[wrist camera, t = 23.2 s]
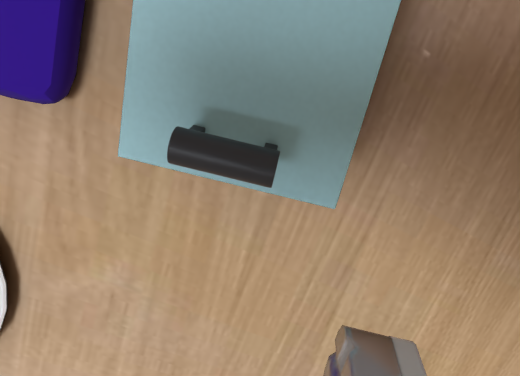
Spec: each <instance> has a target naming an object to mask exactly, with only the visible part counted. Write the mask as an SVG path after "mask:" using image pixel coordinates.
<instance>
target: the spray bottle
mask: <svg viewBox="0 0 520 376" xmlns="http://www.w3.org/2000/svg"><path fill="white" fill-rule="evenodd" d="M84 6H85V0H0V95H3V96H6V97H10V98H14V99H19V100H25V101H30V102H35V103H41V104H51V103H56V102H58V101H60V100H62V99H63V98H64V97H65V96H67V95H68V93H69V91H70V88H71V86H72V83H73V81H74V78H75V76H76V70H77V62H78V54H79V46H80V38H81V30H82V22H83V14H84Z"/></svg>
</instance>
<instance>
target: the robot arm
mask: <svg viewBox="0 0 520 376" xmlns="http://www.w3.org/2000/svg"><path fill="white" fill-rule="evenodd" d="M335 345H336V352H335V353H333V354H331V355H330V356H329V358H328V361H327V364H326V367H325V370H324V375H323V376H427V375H426V372H425V369H424V367H423V364H422V361H421V358H420V355H419V352H418V349H417V346H416V344H415V343H414V342H413V341H409V340H405V339H400V338H396V337H392V336H384V335H380V334H376V333H372V332H368V331H364V330H360V329H356V328H352V327H348V326H344V325H342V326H341V328H340V329H339V331H338V334H337V336H336V339H335Z"/></svg>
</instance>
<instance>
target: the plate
mask: <svg viewBox="0 0 520 376" xmlns="http://www.w3.org/2000/svg"><path fill="white" fill-rule="evenodd" d="M7 309H8V298H7V281H6V277H5V274H4V271H3V268H2V265H1V261H0V330H1V327H2V324H3V321H4V318H5V315H6V312H7Z"/></svg>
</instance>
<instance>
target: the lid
mask: <svg viewBox="0 0 520 376" xmlns="http://www.w3.org/2000/svg"><path fill="white" fill-rule="evenodd" d="M400 2H401V0H133V9H132V19H131V29H130V39H129V49H128V59H127V69H126V79H125V89H124V99H123V109H122V119H121V129H120V139H119V149H118V156H119V157H123V158H127V159H131V160H135V161H140V162H144V163H148V164H152V165H156V166H160V167H164V168H168V169H172V170H176V171H181V172H185V173H189V174H193V175H197V176H201V177H205V178H209V179H213V180H217V181H222V182H226V183H230V184H234V185H238V186H242V187H246V188H250V189H254V190H258V191H263V192H267V193H271V194H275V195H279V196H283V197H287V198H291V199H295V200H299V201H304V202H308V203H312V204H316V205H320V206H324V207H328V208H332V209H335V208H336V205H337V201H338V198H339V195H340V192H341V189H342V186H343V183H344V179H345V176H346V173H347V170H348V167H349V164H350V160H351V157H352V154H353V151H354V148H355V145H356V141H357V138H358V135H359V132H360V129H361V126H362V123H363V119H364V116H365V113H366V110H367V107H368V104H369V100H370V97H371V94H372V91H373V88H374V85H375V81H376V78H377V75H378V72H379V69H380V66H381V62H382V59H383V56H384V53H385V50H386V47H387V44H388V40H389V37H390V34H391V31H392V28H393V25H394V21H395V18H396V15H397V12H398V9H399V6H400Z"/></svg>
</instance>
